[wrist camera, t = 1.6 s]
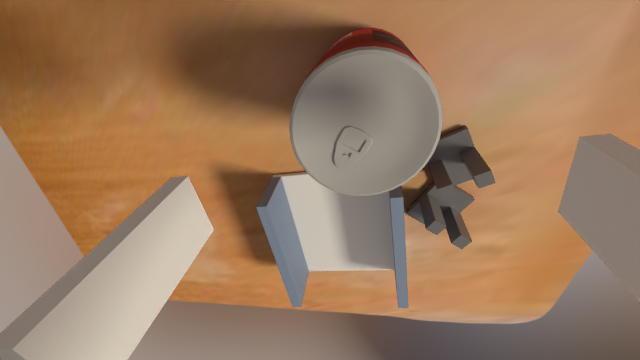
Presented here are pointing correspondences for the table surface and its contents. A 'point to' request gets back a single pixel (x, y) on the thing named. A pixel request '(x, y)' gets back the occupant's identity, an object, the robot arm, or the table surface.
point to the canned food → (366, 115)
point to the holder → (332, 232)
